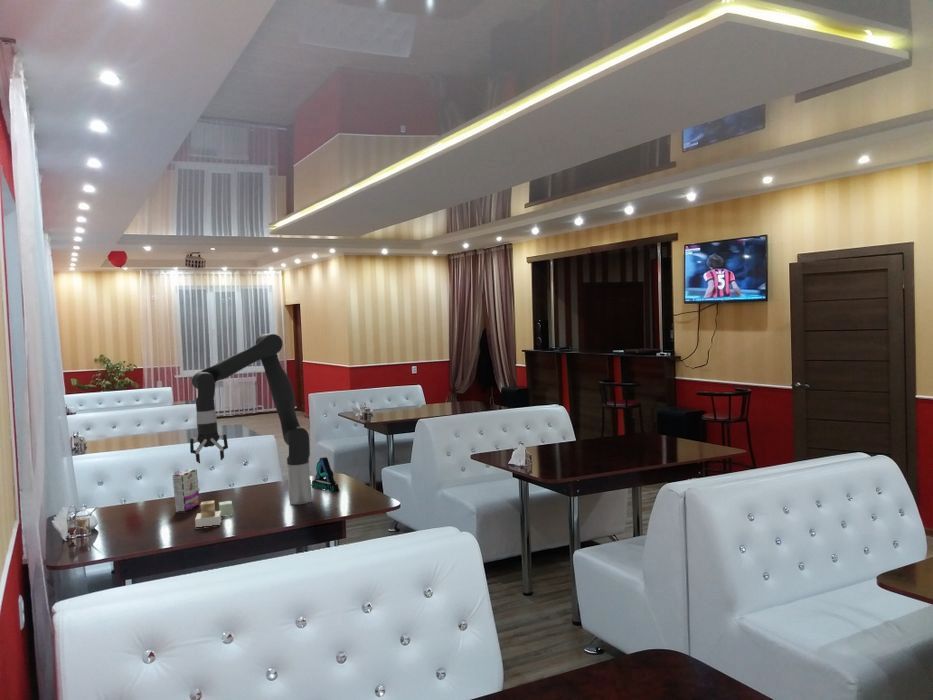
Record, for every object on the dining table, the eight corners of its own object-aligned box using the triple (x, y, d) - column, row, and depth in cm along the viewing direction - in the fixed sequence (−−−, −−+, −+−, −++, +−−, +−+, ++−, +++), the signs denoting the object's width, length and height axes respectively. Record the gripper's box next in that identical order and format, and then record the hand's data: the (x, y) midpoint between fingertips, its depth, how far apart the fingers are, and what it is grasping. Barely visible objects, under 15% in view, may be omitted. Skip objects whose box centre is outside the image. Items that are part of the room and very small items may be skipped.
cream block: (221, 520, 287) (221, 510, 287) (220, 526, 278) (219, 516, 278) (198, 523, 285) (197, 513, 285) (195, 529, 276) (195, 519, 276)
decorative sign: (339, 491, 325) (337, 459, 324) (335, 492, 323) (333, 460, 322) (315, 486, 338) (313, 455, 337) (311, 487, 336) (309, 456, 335)
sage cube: (232, 512, 298) (231, 500, 297) (232, 515, 293) (232, 503, 293) (219, 514, 296) (218, 502, 295) (220, 517, 291) (219, 505, 291)
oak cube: (215, 512, 284) (214, 500, 284) (214, 515, 279) (213, 503, 279) (201, 514, 283) (201, 502, 283) (201, 517, 278) (200, 504, 278)
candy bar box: (190, 505, 313) (187, 468, 312) (200, 505, 312) (197, 468, 311) (174, 512, 302) (172, 474, 301) (185, 512, 301) (182, 474, 300)
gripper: (224, 418, 290) (228, 457, 291) (187, 422, 284) (191, 462, 285) (226, 420, 283) (229, 460, 284) (188, 425, 278) (191, 465, 279)
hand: (210, 461), depth 285 cm, fingers open, 8 cm apart
